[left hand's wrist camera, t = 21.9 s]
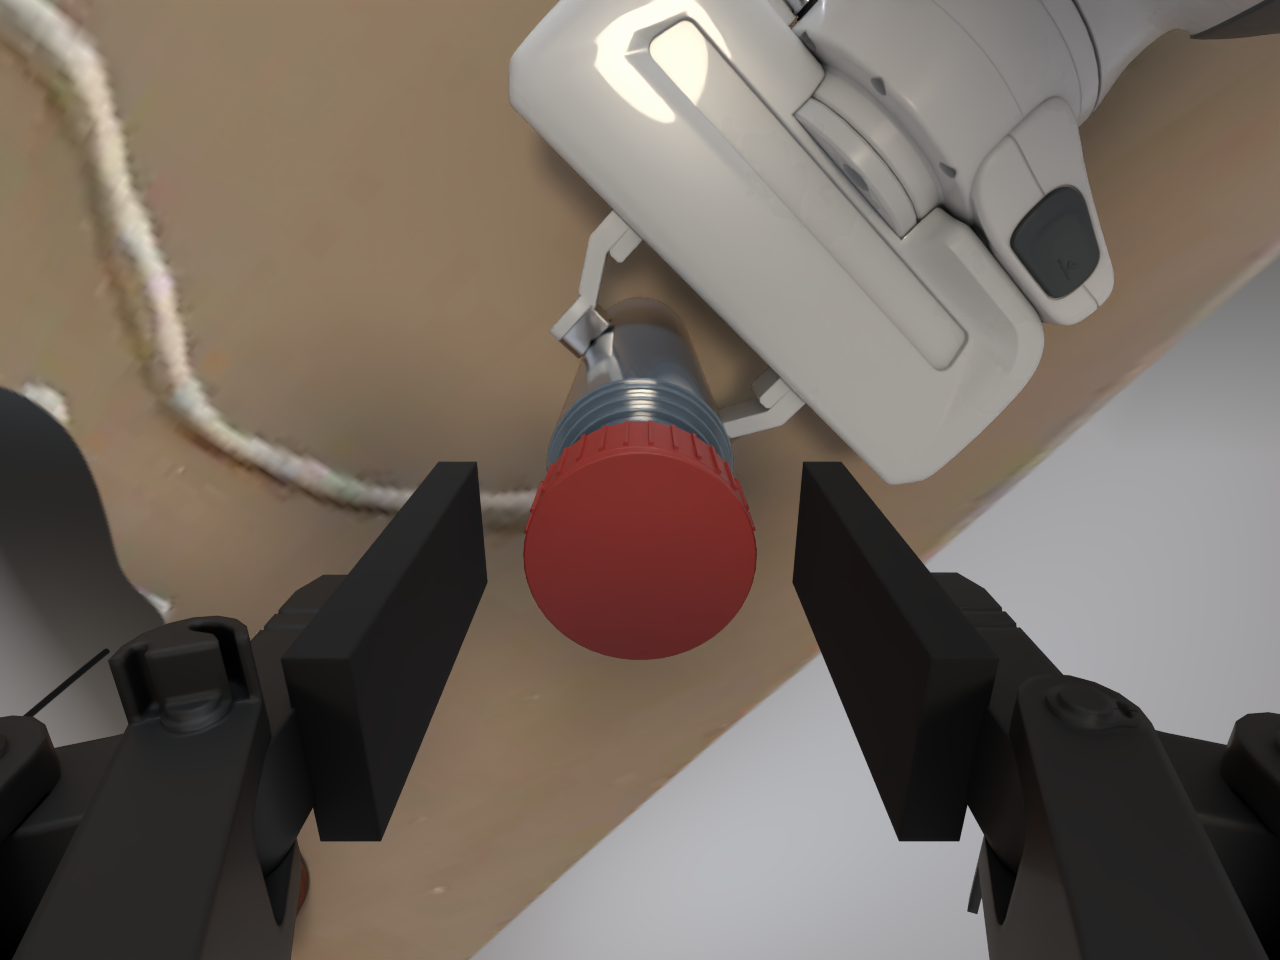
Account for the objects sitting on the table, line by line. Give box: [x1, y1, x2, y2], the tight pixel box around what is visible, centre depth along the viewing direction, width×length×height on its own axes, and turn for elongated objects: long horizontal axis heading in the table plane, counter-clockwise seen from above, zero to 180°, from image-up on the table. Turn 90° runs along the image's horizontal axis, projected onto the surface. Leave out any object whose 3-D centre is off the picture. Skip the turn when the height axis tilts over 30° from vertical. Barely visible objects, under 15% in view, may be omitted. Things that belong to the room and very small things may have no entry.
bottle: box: [547, 298, 734, 474], centre depth 23 cm, size 5×5×21 cm
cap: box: [523, 420, 757, 660], centre depth 14 cm, size 4×4×2 cm
